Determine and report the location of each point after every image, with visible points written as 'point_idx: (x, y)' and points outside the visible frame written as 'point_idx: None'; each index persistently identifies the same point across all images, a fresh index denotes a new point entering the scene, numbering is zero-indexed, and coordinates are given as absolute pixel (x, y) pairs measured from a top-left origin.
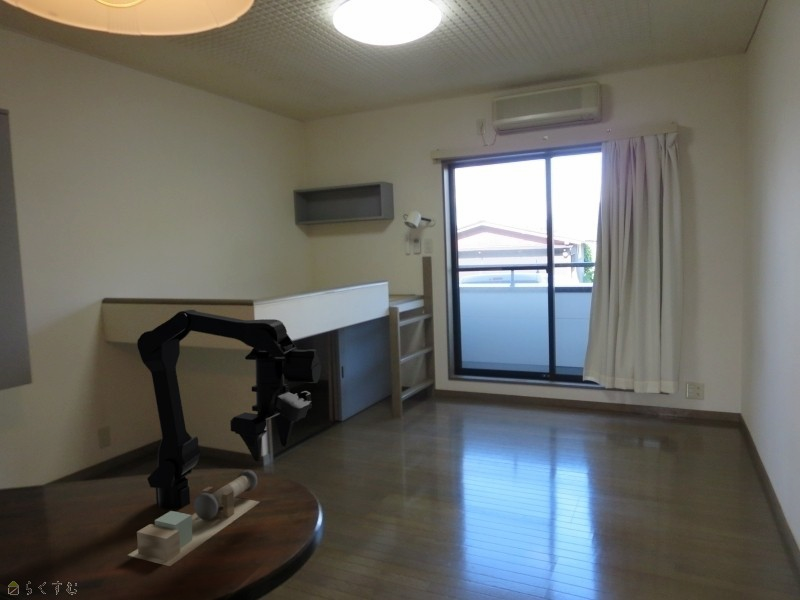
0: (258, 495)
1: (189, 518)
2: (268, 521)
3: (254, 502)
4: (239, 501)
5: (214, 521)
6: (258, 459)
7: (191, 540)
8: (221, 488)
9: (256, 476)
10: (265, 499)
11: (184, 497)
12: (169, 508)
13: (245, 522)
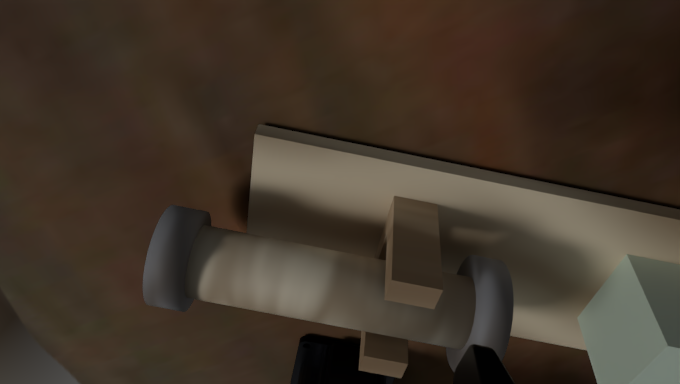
0: (165, 167)
1: (675, 338)
2: (404, 20)
3: (269, 156)
4: (278, 216)
5: (467, 239)
6: (501, 369)
7: (632, 256)
8: (360, 326)
9: (152, 237)
10: (188, 124)
11: (356, 381)
12: (383, 379)
13: (424, 126)
